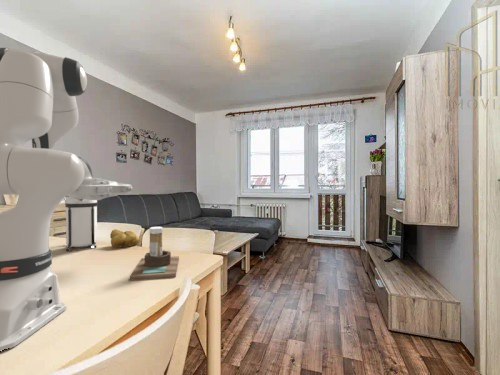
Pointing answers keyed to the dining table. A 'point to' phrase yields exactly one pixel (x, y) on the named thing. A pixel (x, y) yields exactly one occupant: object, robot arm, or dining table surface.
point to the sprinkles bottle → (155, 241)
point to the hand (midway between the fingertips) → (121, 189)
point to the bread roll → (123, 238)
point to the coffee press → (81, 223)
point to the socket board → (156, 267)
